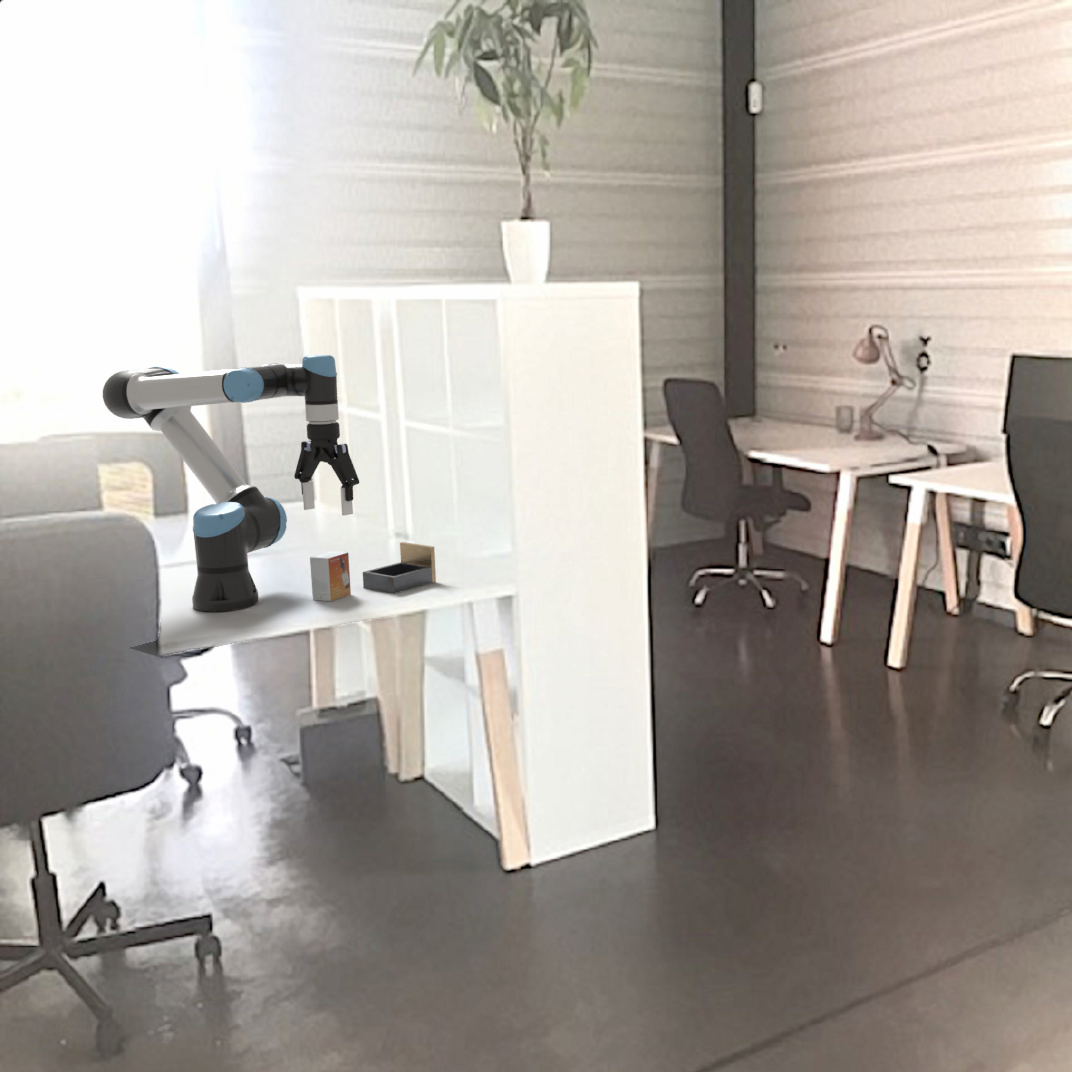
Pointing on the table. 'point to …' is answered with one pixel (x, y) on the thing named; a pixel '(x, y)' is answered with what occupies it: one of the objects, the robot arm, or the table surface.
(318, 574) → the small box
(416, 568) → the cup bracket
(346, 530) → the table surface
